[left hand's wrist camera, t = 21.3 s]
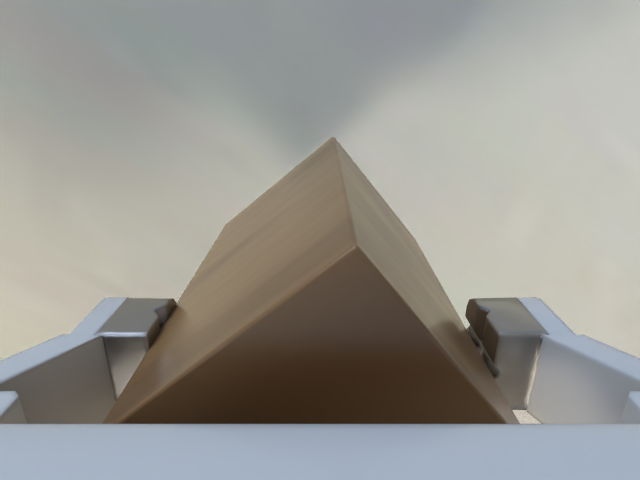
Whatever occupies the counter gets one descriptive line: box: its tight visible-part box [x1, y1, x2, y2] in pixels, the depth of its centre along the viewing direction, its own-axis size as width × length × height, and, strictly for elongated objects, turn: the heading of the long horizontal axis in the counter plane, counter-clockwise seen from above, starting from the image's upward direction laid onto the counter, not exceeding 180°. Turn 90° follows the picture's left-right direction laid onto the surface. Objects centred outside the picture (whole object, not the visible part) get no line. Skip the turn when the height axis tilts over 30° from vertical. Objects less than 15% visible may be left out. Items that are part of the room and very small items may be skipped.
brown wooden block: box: [102, 137, 520, 424], centre depth 11 cm, size 5×5×10 cm
